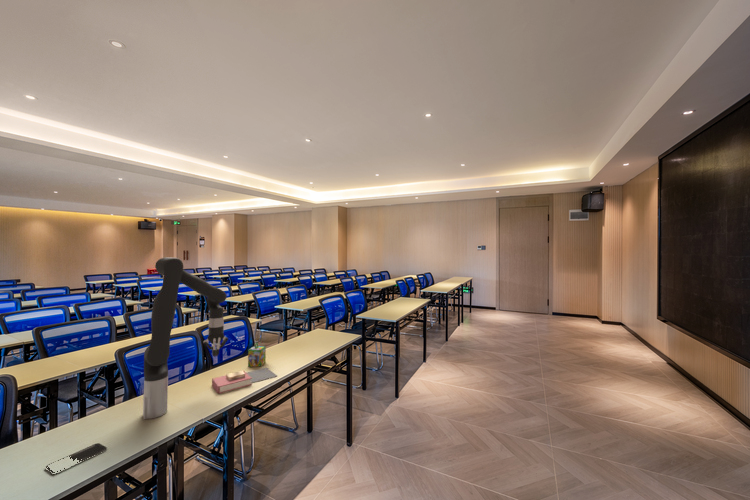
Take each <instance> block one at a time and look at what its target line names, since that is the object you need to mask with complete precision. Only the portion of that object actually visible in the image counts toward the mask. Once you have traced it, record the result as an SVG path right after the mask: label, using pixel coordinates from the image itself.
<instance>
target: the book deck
mask: <svg viewBox="0 0 750 500" xmlns="http://www.w3.org/2000/svg"><path fill="white" fill-rule="evenodd" d="M242 371H243V372H244V373H245V377H243V378H239V379H235V380H231V381H228V379H227V378H226V374H225V375H221V376H217V377H214V378H211V386H212V387H213V389H214V391H215V392H216V393H217V394H218V395H220V394H223V393H226V392H227V393H228V392H230V391H234V390H237V389H242V388H245V387H248V386H252V385H253V383H251V379H252V378H251V377H250V376H249V375H248V374H247V373H246V372H247V371H245V370H242Z"/></svg>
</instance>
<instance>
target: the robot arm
mask: <svg viewBox="0 0 750 500" xmlns="http://www.w3.org/2000/svg"><path fill="white" fill-rule="evenodd" d="M154 267H155V270H156V271H157V273H158V274H160V275H162V276H163V279H162V280H163V281H162V284H161V288H160V290H159V292H158V294H157V295H156V298H155V299H154V301H153V304H152V309H151V310H152V311H151V316H150V317H151V318H150V319H151V320H150V321H151V322H150V323H151V325H150V326H151V328H150V329H151V337H150V342H149V345H148V346H147V347H146V349H145V350H144V354H143V376H144V377H143V398H142V400H143V402H142V418H143V420H147V419H148V420H151V419H155V418H159V417H162V416H163V415H165V414H166V413H168V400H169V399H168V398H169V397H168V396H169V394H168V393H169V391H168V389H169V388H168V387H169V386H168V385H169V368H168V359H169V357H170V349H171V348H170V347H171V345H170V344H171V343H170V342H171V333H172V329H173V325H174V320H175V314H176V310H177V309H176V308H177V301H178V294H179V288H180V283H181V284H183V285H184V286H186V287H188V288H189V289H191V290H192V291H194V292H196V293H198V294H199V295H201V296H203V297H206V301H207V302H206V303H207V307H208V311H209V317H208V336H207V339H205V340H203V341H202V343H203V344H204V345H205V346H206V347H207V348H208V349H209V350H210V351H211V353H212V354H211V355H212V356H213V357H218V356H219V354H220V349H222V348H223V347H224V346H225V345H226V343H227V342H228V340H229V337H227V336H225V334H224V327H225V326H224V325H225V323H224V321H225V320H224V307H223V306H221V305H220V304H222V303H224V302H225V301H226V300H227V293H226V292H225V291H223V290H222V289H221V288H218V287H217V286H214V285H212V284H211V283H209V282H207V281H206V280H204V279H203V278H201V277H198V276H197V275H195V274H192V273H191V272H189V271H187V270H185V269H184V263H183V261H182V260H181V259H180V258H178V257H170V256H169V257H168V256H165V257H161V258H159V259H158V260H156V262H155V265H154ZM209 342H210V344H211V345H210V344H209Z"/></svg>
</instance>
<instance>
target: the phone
mask: <svg viewBox="0 0 750 500" xmlns="http://www.w3.org/2000/svg"><path fill="white" fill-rule="evenodd" d="M106 449H107V446H105V445H104V444H101V443H94V444H92V445H89V446H87V447H85V448H83V449H80V450H79V451H76V452H74V453H71V454H70V455H67V456H66V457H68V456H69V457H70V456H71V457H70V459H71V458H72V459H73V461H74V460H75V459H76V458H77V460H79V462H80V461H83V460H85V459H87V458H89V457H92V456H94V455H97V454H99V455H101V454H102V453H101V452H103V451H105V450H106ZM107 450H108V449H107ZM107 450H106V451H107ZM106 451H105V452H106ZM100 453H101V454H100ZM103 453H104V452H103ZM97 456H98V455H97ZM94 457H95V456H94ZM64 458H65V457H63V458H61V459H64ZM92 458H93V457H92ZM61 459H58V460H57V461H59V460H61ZM81 459H82V460H81ZM54 462H55V461H53V462H51V463H49V464H47V465H46V466H45V467H46V468H47V467H48V465H50V464H52V463H54ZM77 463H78V462H77ZM47 469H48V470H49V471H51V472H52V473H55V472H53V471H52V470H50V468H49V467H48V468H47ZM64 469H65V468H64ZM60 471H61V470H60ZM57 472H58V471H57Z"/></svg>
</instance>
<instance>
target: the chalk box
mask: <svg viewBox="0 0 750 500" xmlns="http://www.w3.org/2000/svg"><path fill="white" fill-rule="evenodd" d="M258 344H259V343H258V342H256V343H254V345H253V346H252V347H250V348H249V349H248V350H247V352H248V353H247V354H248V355H247V367H250V368H251V367H256V368H257V367H261V368H262V366H263V365H264V364H265V363H266V358H267V357H266V355H267V353H266V349H267V347H266V346H263V345H262V346H261V345H258Z"/></svg>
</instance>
